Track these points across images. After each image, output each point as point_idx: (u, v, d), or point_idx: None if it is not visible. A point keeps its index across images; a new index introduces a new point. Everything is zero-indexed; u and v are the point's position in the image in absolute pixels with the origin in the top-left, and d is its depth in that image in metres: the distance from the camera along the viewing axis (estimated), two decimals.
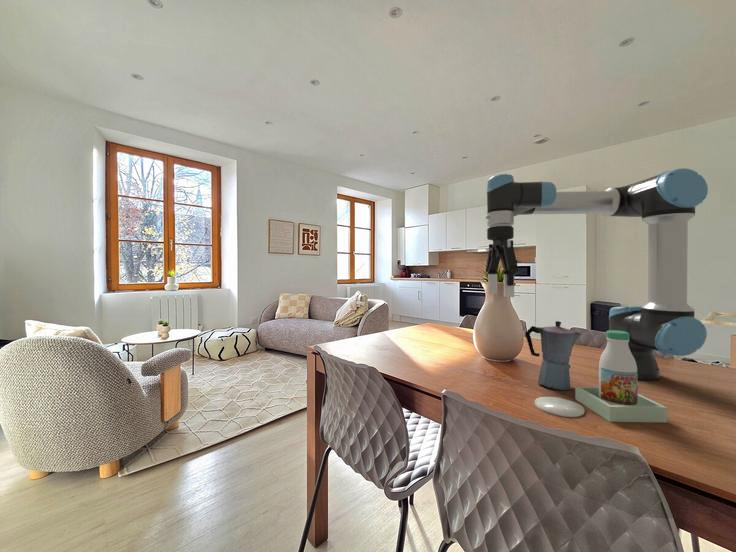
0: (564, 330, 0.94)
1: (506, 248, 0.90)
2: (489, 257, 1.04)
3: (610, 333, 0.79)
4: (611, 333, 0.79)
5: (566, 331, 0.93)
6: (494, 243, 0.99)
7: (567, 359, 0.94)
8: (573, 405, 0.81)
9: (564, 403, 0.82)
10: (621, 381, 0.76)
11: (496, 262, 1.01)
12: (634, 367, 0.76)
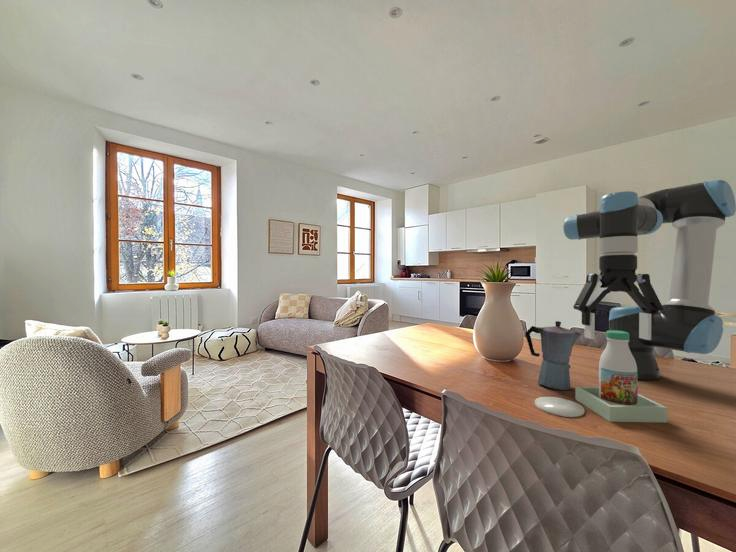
0: (564, 330, 0.94)
1: (586, 283, 0.80)
2: (641, 290, 0.80)
3: (610, 333, 0.79)
4: (611, 333, 0.79)
5: (566, 331, 0.93)
6: None
7: (567, 359, 0.94)
8: (573, 405, 0.81)
9: (564, 403, 0.82)
10: (621, 381, 0.76)
11: (636, 298, 0.79)
12: (634, 367, 0.76)
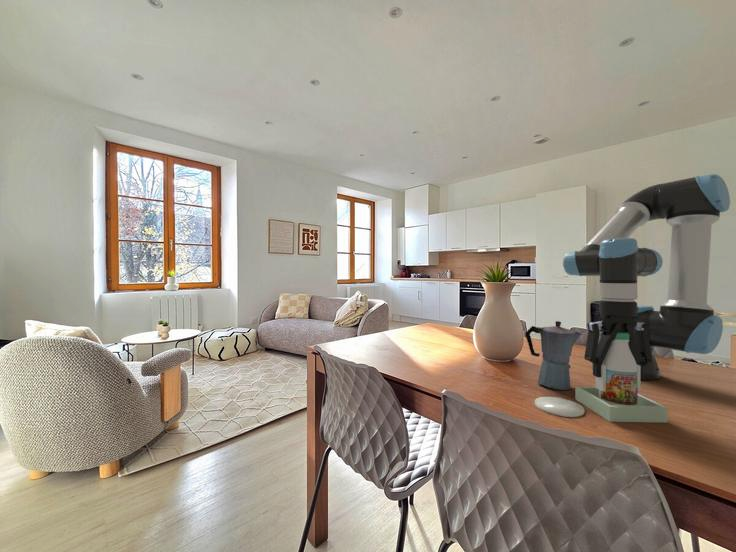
0: (564, 330, 0.94)
1: (589, 332, 0.81)
2: (636, 339, 0.80)
3: None
4: None
5: (566, 331, 0.93)
6: None
7: (567, 359, 0.94)
8: (573, 405, 0.81)
9: (564, 403, 0.82)
10: (621, 381, 0.76)
11: (629, 346, 0.79)
12: (634, 367, 0.76)
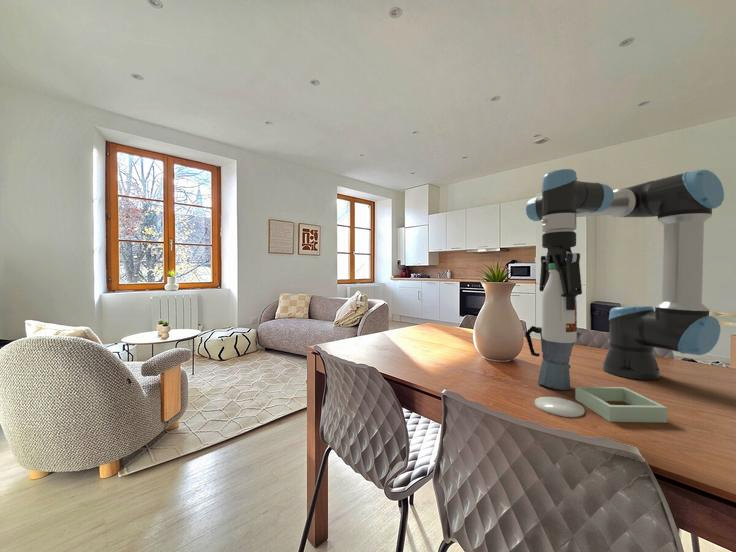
0: None
1: (570, 264, 0.74)
2: (543, 271, 0.86)
3: None
4: None
5: None
6: (549, 250, 0.83)
7: (567, 359, 0.94)
8: (573, 405, 0.81)
9: (564, 403, 0.82)
10: (576, 308, 0.79)
11: None
12: None
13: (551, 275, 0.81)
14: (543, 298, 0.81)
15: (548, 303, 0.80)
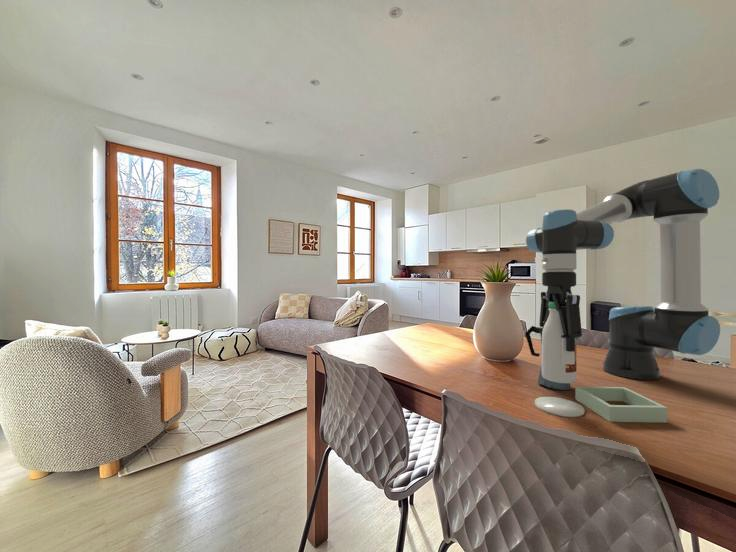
0: None
1: (570, 306, 0.75)
2: (543, 307, 0.87)
3: None
4: None
5: None
6: (549, 288, 0.83)
7: None
8: (573, 405, 0.81)
9: (564, 403, 0.82)
10: None
11: None
12: None
13: (551, 314, 0.81)
14: (543, 336, 0.82)
15: (548, 343, 0.80)
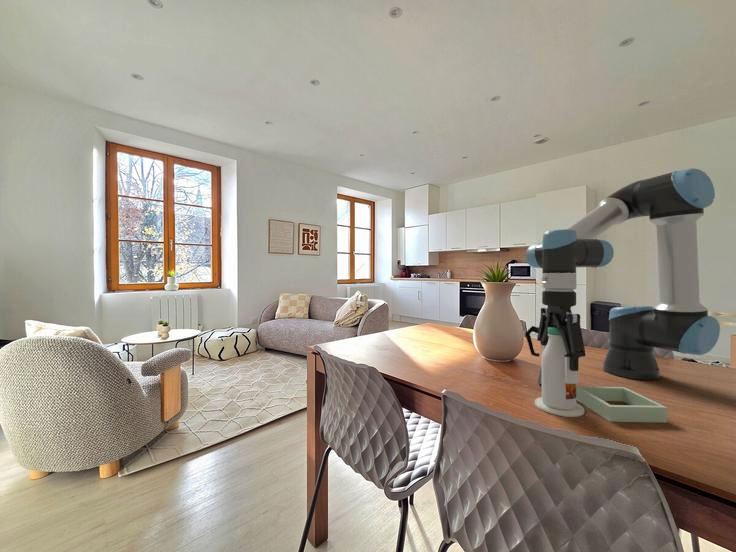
0: None
1: (571, 325, 0.74)
2: (542, 323, 0.87)
3: None
4: None
5: None
6: (550, 307, 0.83)
7: None
8: None
9: None
10: None
11: None
12: None
13: (550, 340, 0.81)
14: (543, 362, 0.82)
15: (548, 369, 0.80)
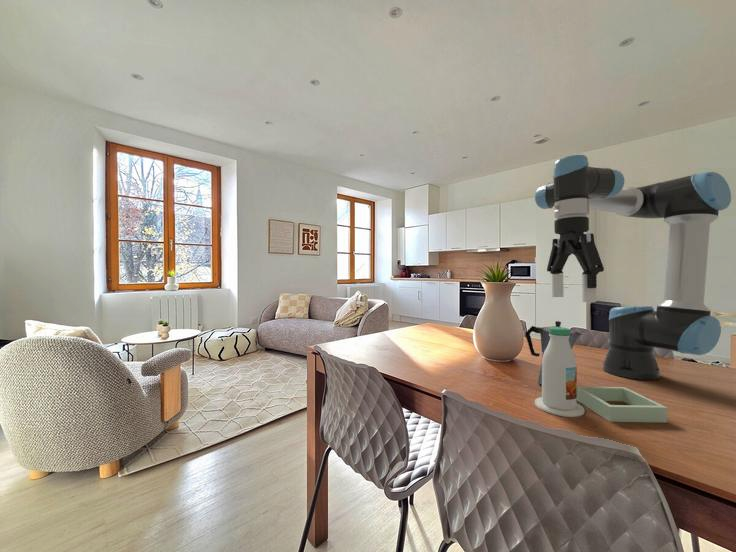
0: None
1: (585, 243, 0.75)
2: (553, 254, 0.89)
3: (566, 331, 0.79)
4: (567, 330, 0.79)
5: None
6: (562, 237, 0.84)
7: None
8: None
9: None
10: (576, 374, 0.80)
11: (563, 260, 0.86)
12: None
13: (551, 340, 0.81)
14: (543, 362, 0.82)
15: (548, 369, 0.80)
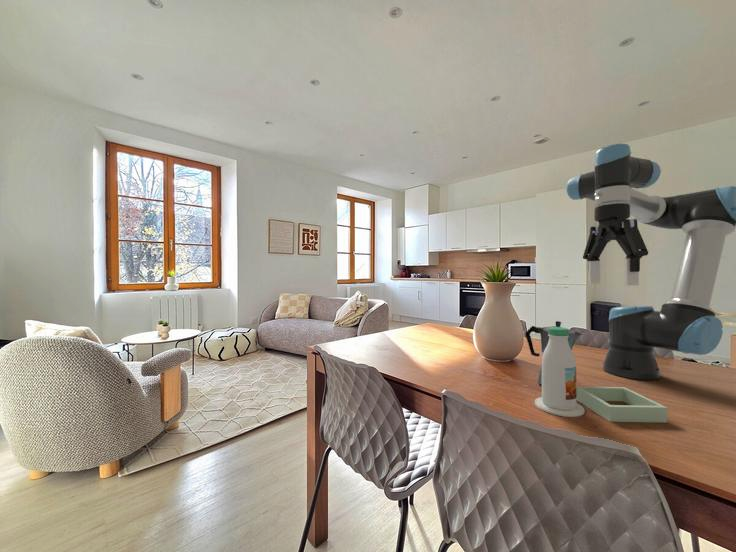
0: None
1: (629, 228, 0.77)
2: (590, 241, 0.91)
3: (565, 331, 0.79)
4: (566, 330, 0.79)
5: None
6: (602, 224, 0.86)
7: None
8: None
9: None
10: None
11: (601, 247, 0.88)
12: None
13: (551, 340, 0.81)
14: (543, 362, 0.82)
15: (548, 369, 0.80)
